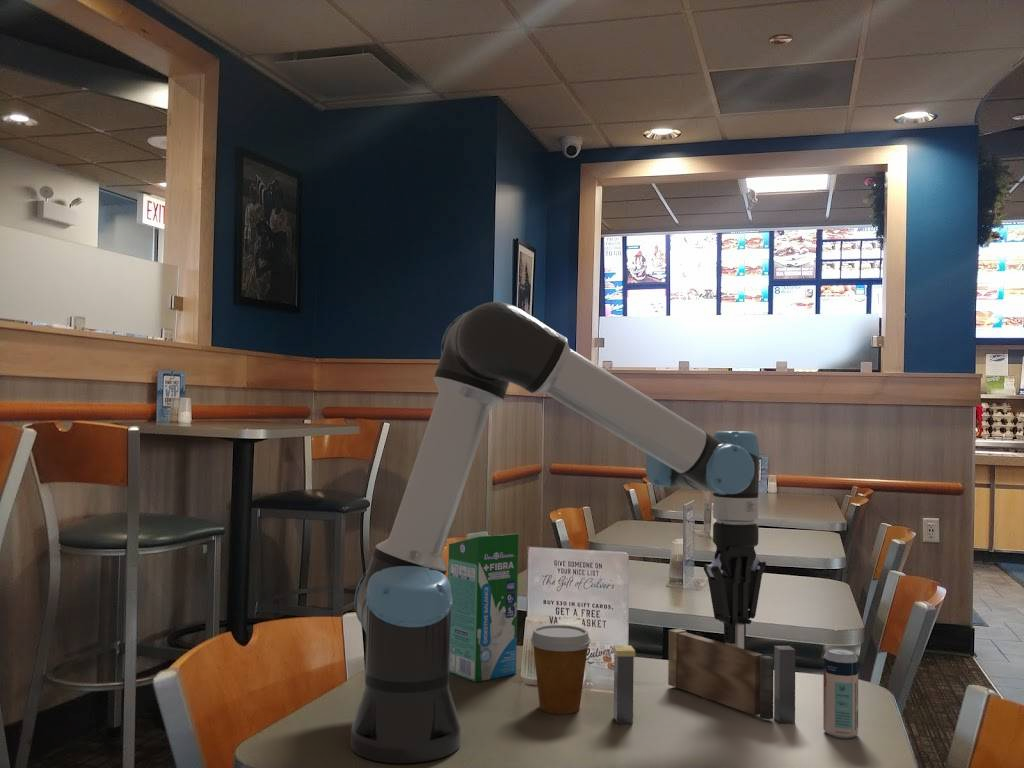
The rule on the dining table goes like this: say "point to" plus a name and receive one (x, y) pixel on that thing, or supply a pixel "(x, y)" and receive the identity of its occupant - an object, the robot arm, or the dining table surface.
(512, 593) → the milk carton
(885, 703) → the dining table surface
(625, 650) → the post
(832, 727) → the supplement bottle
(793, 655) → the hinge post
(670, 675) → the garden gate
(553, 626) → the disposable coffee cup
